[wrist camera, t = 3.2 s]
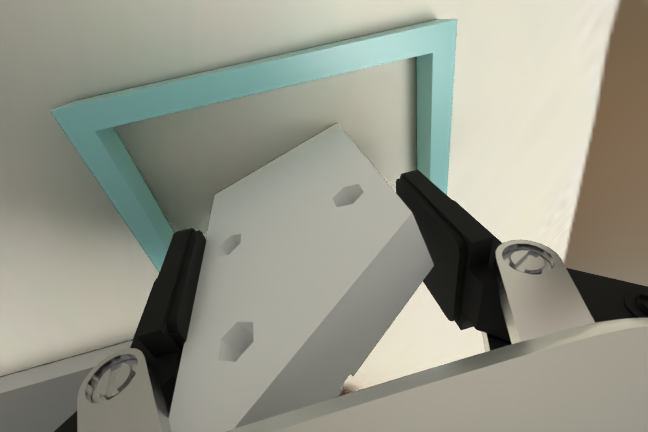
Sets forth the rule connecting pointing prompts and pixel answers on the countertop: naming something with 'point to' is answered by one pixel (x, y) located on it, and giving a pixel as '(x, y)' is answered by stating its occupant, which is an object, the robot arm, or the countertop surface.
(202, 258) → the robot arm
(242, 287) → the white angled block
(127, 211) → the tray frame
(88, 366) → the grey slotted holder
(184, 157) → the countertop surface
